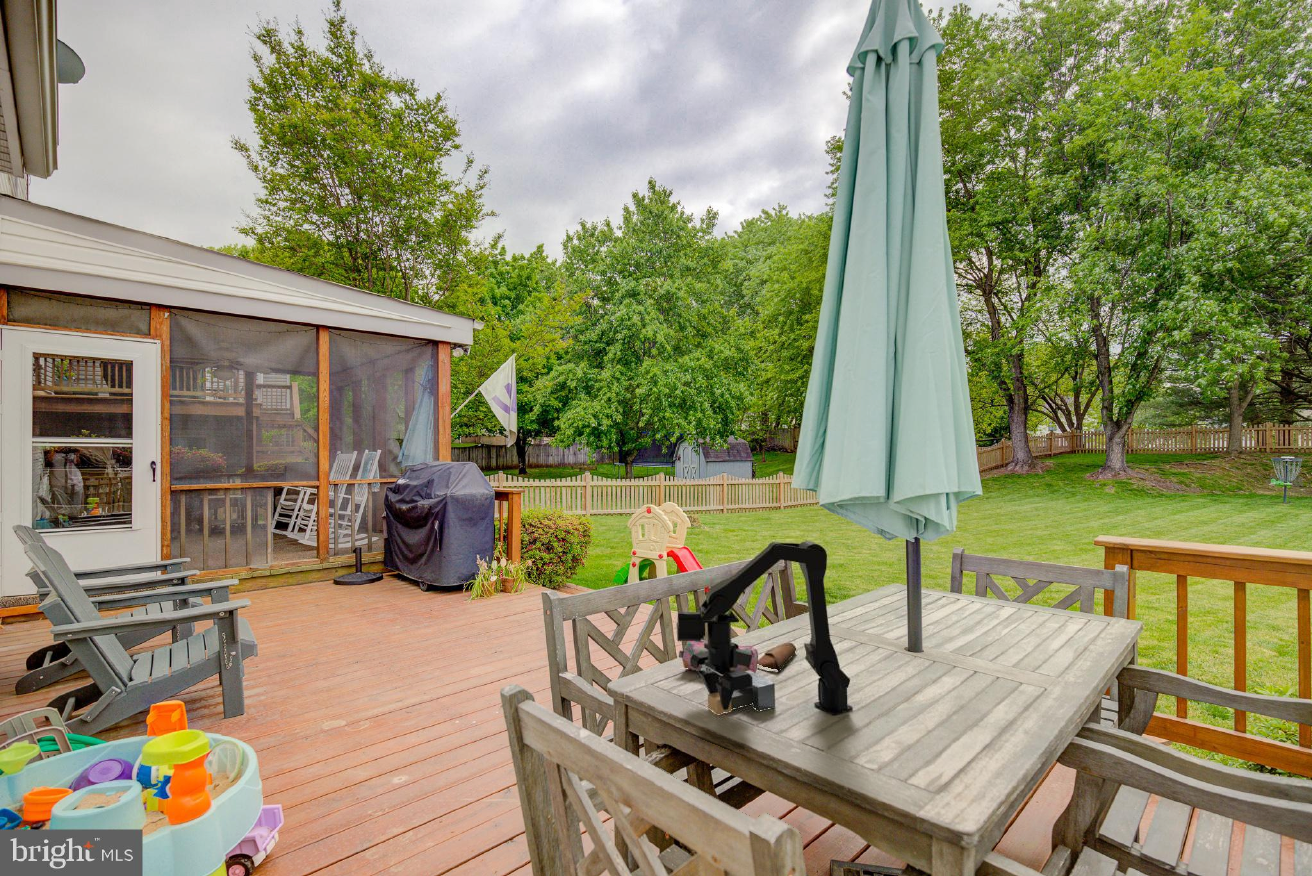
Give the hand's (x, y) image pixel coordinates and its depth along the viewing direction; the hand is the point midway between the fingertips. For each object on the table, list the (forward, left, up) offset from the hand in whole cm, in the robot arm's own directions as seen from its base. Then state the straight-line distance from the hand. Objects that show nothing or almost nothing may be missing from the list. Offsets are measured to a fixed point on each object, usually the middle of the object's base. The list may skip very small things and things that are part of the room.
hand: (720, 706), depth 134 cm
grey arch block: (0, -10, -1) cm, 10 cm away
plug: (0, -4, -1) cm, 4 cm away
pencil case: (+20, -13, -2) cm, 24 cm away
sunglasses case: (+20, -33, -2) cm, 38 cm away
